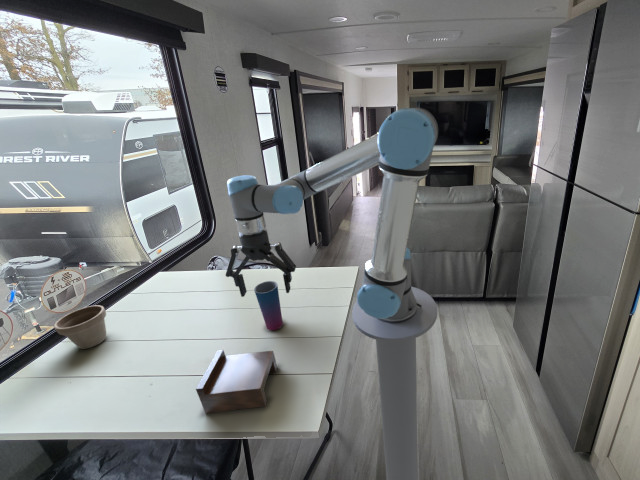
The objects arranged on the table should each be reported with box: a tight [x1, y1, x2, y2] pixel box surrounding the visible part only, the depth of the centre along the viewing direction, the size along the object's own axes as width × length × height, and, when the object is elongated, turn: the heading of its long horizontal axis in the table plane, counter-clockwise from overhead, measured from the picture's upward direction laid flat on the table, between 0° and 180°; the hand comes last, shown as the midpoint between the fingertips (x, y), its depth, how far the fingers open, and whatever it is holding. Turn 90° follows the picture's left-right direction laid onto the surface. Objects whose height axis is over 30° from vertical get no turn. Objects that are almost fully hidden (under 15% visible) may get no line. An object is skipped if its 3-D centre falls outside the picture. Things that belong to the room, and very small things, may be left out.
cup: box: [253, 280, 284, 331], centre depth 99 cm, size 7×7×15 cm
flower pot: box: [53, 304, 107, 350], centre depth 96 cm, size 12×11×10 cm
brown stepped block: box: [195, 349, 278, 414], centre depth 78 cm, size 14×12×8 cm
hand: (266, 292), depth 97 cm, fingers open, 13 cm apart
